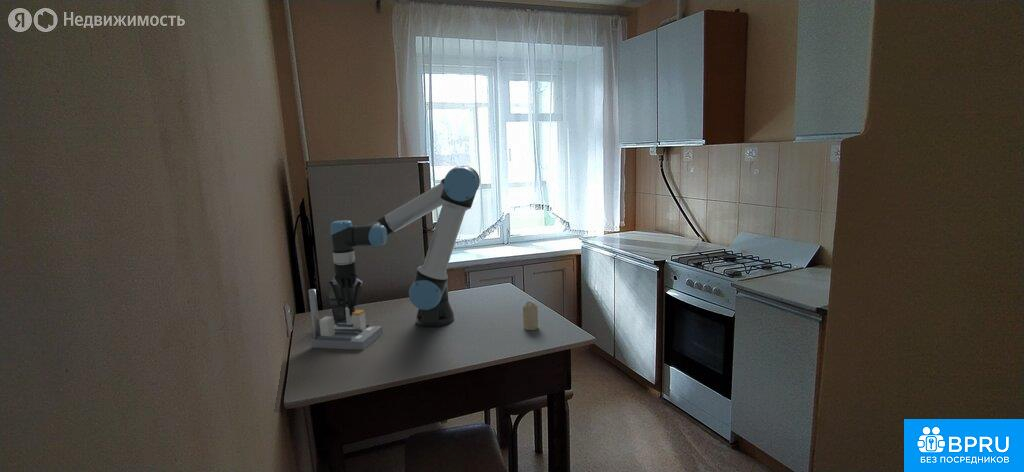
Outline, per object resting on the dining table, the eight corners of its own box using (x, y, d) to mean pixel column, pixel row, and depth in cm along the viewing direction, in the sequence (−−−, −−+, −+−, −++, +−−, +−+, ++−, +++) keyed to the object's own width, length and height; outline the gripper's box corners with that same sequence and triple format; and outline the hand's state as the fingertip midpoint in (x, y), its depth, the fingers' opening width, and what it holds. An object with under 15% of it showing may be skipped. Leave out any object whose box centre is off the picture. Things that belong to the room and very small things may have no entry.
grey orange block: (366, 327, 181) (364, 309, 180) (361, 330, 177) (359, 313, 176) (359, 326, 182) (357, 309, 181) (353, 330, 178) (351, 313, 177)
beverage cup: (344, 327, 190) (339, 279, 187) (327, 327, 192) (322, 279, 188) (353, 321, 197) (348, 274, 194) (337, 320, 199) (332, 274, 195)
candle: (541, 327, 182) (540, 302, 180) (531, 331, 178) (530, 305, 176) (530, 324, 185) (529, 299, 184) (520, 328, 181) (519, 303, 180)
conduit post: (322, 336, 174) (316, 288, 170) (318, 339, 171) (312, 290, 168) (316, 336, 174) (310, 288, 171) (312, 338, 172) (306, 290, 169)
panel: (382, 333, 182) (381, 323, 181) (363, 349, 168) (362, 339, 167) (335, 332, 186) (334, 322, 185) (312, 347, 172) (311, 337, 171)
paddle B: (335, 334, 175) (333, 316, 174) (328, 338, 171) (326, 320, 170) (327, 334, 176) (325, 316, 175) (321, 338, 172) (319, 320, 171)
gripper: (365, 260, 178) (370, 320, 182) (334, 259, 181) (340, 319, 185) (355, 265, 171) (361, 327, 175) (322, 264, 174) (329, 326, 178)
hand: (350, 323), depth 180 cm, fingers closed
